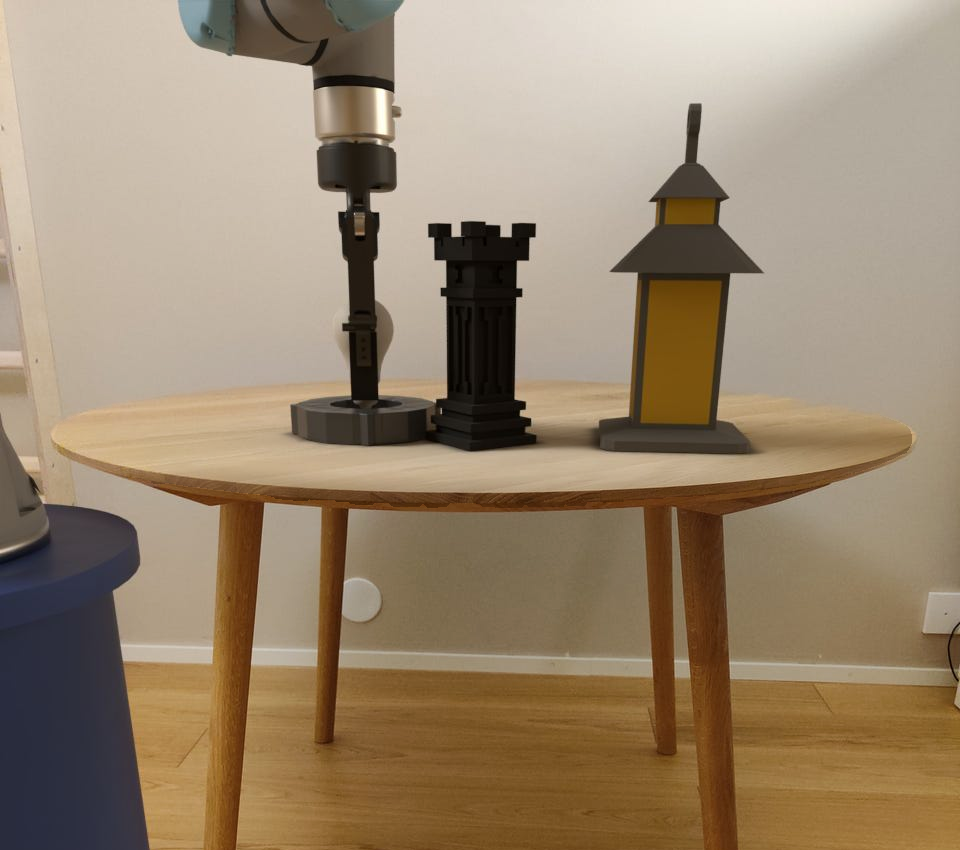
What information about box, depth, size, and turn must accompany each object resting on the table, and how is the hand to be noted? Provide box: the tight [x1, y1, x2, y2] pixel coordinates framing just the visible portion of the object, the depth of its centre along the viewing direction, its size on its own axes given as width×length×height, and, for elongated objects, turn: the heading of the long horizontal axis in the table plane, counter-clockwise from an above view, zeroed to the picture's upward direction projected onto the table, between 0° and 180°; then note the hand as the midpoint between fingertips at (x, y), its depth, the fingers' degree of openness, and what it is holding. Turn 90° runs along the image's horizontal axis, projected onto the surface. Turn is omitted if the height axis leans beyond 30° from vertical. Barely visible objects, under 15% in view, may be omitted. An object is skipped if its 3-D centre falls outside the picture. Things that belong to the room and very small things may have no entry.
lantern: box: [598, 102, 765, 455], centre depth 91 cm, size 14×14×30 cm
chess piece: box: [425, 220, 538, 452], centre depth 92 cm, size 8×8×20 cm
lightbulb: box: [332, 299, 395, 409], centre depth 97 cm, size 6×6×11 cm
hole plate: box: [289, 394, 442, 446], centre depth 99 cm, size 14×14×3 cm
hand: (364, 395), depth 98 cm, fingers closed on lightbulb, 6 cm apart
